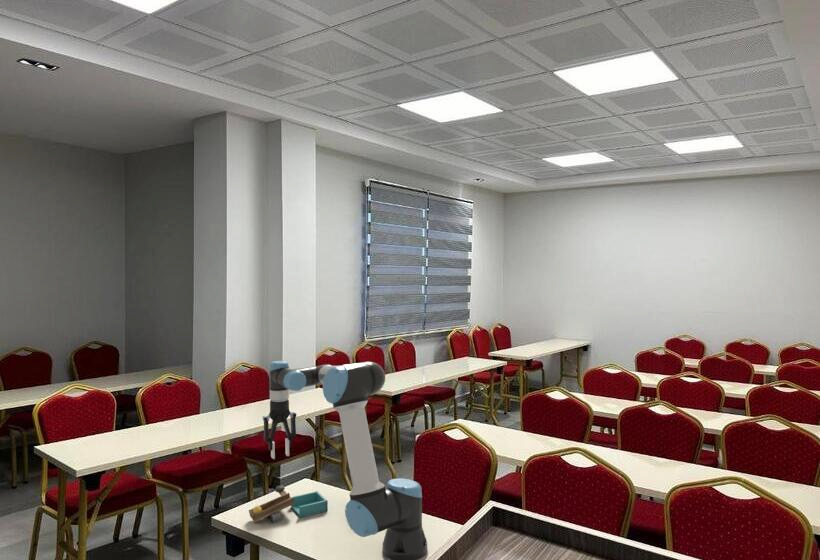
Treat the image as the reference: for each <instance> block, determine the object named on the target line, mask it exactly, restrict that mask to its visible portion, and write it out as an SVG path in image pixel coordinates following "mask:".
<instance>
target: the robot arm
mask: <svg viewBox="0 0 820 560" xmlns="http://www.w3.org/2000/svg"><path fill="white" fill-rule="evenodd" d="M268 373H269V374H268V375H269V399H270V401H269V413H268V414H267V415H266V416H264V415H263V416H262V420H263V441H264V442H266V443H268V450H269V451H270V457H271V459H273V460H275V459H276V452H275V450H276V449H275V448H276V447H275V446H276V444H275V441H274V438H275V433H276V430H277V427H278V424H280V423H282V424H283V428H284V431H285V435H286V438H284V439H285V440H284V441H285V442H284V443H285V445H284V446H285V450H284V451H285V452H284V453H285V456H286V457H290V448H291V447H292V441H293V438H295V437H297V428H296V427H297V425H296V418H297V412H294V411H293V412H291V411H290V400H289V398H290V391H295V392H298V391H302V390H303V388H308V387H312V386H321V385H322V393H323V396H324V399H325V400H326V401H327V403H329V404H332V408H333V410H335V411H336V412H338V414H339V420H340V425H341V429H342V430H341V431H342V435H343V442H344V446H345V451H346V456H347V463H348V468H349V473H350V479H351V483H352V489H351V490H350V492H349V499H350V500H349V501H348V502H347V503H346V504H345V508H344V513H345V519H346V521H347V524H348V526H349V527H350V529H351V530H352V531H353V533H355V535H357V536H358V537H361V538H365V537H369V536H375V535H377V534H378V533H380V532H384V531H385V534H384V538H383V540H382V554H383V555H385V556H386V557H387V558H388V559H390V560H418V559H421V558H423V557H424V556H425V555H426V554H427V552H428V540H427V538H426V535H425V530H424V528H423V494H422V486H421V485H420V483H419V482H417V481H416V480H415V481H414V480H413V479H408V478H399V477H398V478H392V479H389V480H388V481H387V483H386V485H385V484H384V483H382V482H381V481H380V480H379V475H378V474H379V473H378V469H377V464H376V459H375V453H374V450H373V444H372V443H373V442H372V439H371V435H370V428H369V425H368V424H369V422H368V419H367V413H366V409H365V407H366V405H367V404H368V402H369V399H368V397H369V396H373V395H376V394H377V393H378V392H380V391H381V390H382V388H383V387H384V385H385V383H386V374H385V370H384V369H383V367H382V366H381V365H379V363H376V362H373V361H363V362H356V363H347V364H342V365H340V364H339V365H331V364H321V365H316V366H310V367H309V366H308V367H302V368H294V369H292V368H290V366H289V362H288V361H287V360H274V361H271V362H270V363H269V371H268ZM289 417H290V426H289V424H288V418H289ZM270 419H271V420H272V422H271V428H269V426H270V425H269V421H270ZM289 427H290V428H289ZM269 429H270V431H269ZM385 486H386V487H385Z"/></svg>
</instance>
